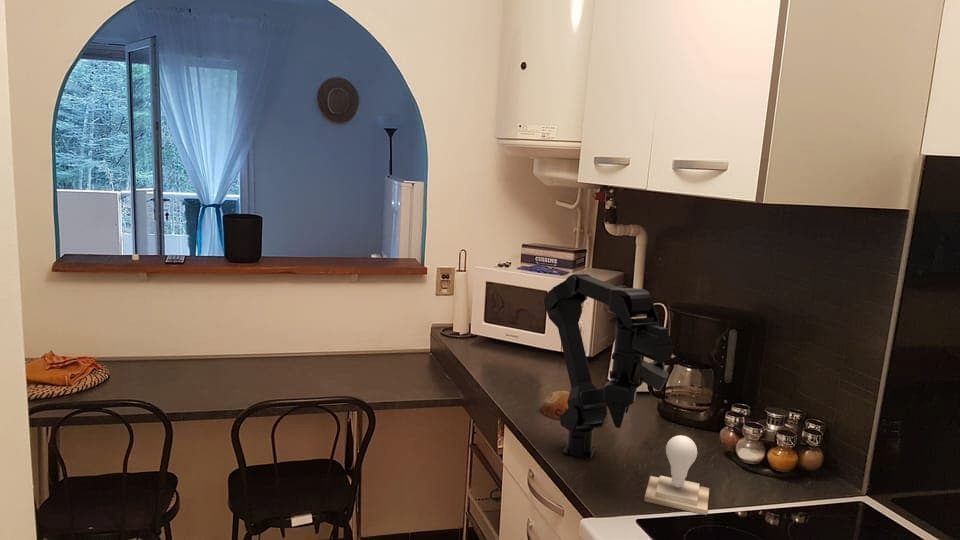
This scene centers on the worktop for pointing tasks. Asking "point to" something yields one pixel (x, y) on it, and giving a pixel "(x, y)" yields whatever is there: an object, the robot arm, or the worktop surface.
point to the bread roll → (555, 404)
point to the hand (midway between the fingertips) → (621, 419)
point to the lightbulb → (680, 458)
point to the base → (677, 495)
